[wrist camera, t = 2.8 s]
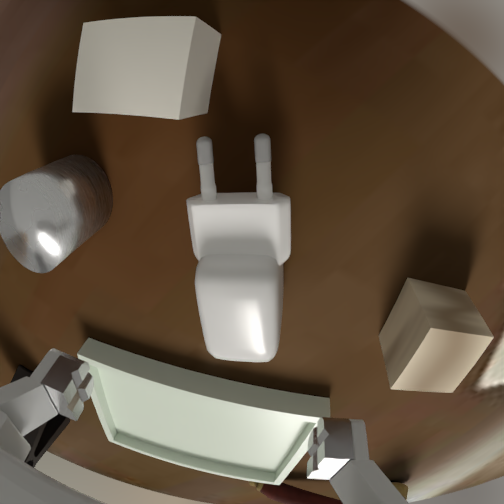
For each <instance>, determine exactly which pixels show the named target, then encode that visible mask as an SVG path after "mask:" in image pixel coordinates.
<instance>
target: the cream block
mask: <svg viewBox="0 0 504 504" xmlns="http://www.w3.org/2000/svg"><path fill="white" fill-rule="evenodd" d="M220 39H221V34H220V33H219V32H217V31H216V30H214V29H213V28H212V27H210V26H209V25H207V24H206V23H205V22H203V21H202V20H200V19H199V18H198V17H195V16H153V17H133V18H120V19H110V20H101V21H93V22H86V23H83V28H82V34H81V40H80V46H79V53H78V60H77V67H76V76H75V85H74V96H73V109H72V112H85V113H108V114H124V115H137V116H149V117H159V118H168V119H177V120H180V119H184V118H188V117H192V116H197V115H201V114H205V113H208V107H209V100H210V94H211V88H212V82H213V77H214V71H215V65H216V60H217V54H218V49H219V44H220Z"/></svg>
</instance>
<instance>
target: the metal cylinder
mask: <svg viewBox="0 0 504 504" xmlns="http://www.w3.org/2000/svg"><path fill="white" fill-rule="evenodd" d="M112 207H113V195H112V189H111V186H110V183H109V180H108V178H107V176H106V174H105V173H104V171H103V170H102V168H101V167H100V166H99V165H98V164H97V163H96V162H95V161H93V160H92V159H90V158H88V157H86V156H83V155H76V154H75V155H70V156H67V157H64V158H62V159H59V160H57V161H54V162H52V163H49V164H47V165H45V166H42V167H40V168H38V169H35V170H33V171H31V172H29V173H26V174H24V175H22V176H20V177H18V178H16V179H13V180H11V181H9V182H8V183H6V184H5V185H4V186H3V187H2V189H1V190H0V233H1V236H2V238H3V240H4V242H5V244H6V246H7V248H8V249H9V251H10V252H11V254H12V255H13V256H14V257H15V259H16V260H17V261H18V262H19V263H21V264H22V265H23V266H24V267H26V268H27V269H29V270H31V271H34V272H37V273H46V272H49V271H51V270H52V269H53V268H55V267H56V266H57V265H58V264H59V263H60V262H61V261H63V260H64V259H65V258H66V257H67V256H68V255H69V254H71V253H72V252H73V251H74V250H75V249H76V248H78V247H79V246H80V245H81V244H82V243H84V242H85V241H86V240H87V239H88V238H90V237H91V236H92V235H93V234H94V233H96V232H97V231H98V230H99V229H101V228H102V227H103V226H104V225H105V224H106V223H107V221H108V220H109V217H110V215H111V212H112Z"/></svg>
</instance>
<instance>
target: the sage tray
mask: <svg viewBox="0 0 504 504" xmlns="http://www.w3.org/2000/svg"><path fill="white" fill-rule="evenodd" d="M77 355H78V358H79V359H80V360H83V361H85V362H88V364H89V366H90V370H89V371H88V372H89V373H90V374H91V375H92V376H93V380H94V387H93V391H92V394H91V398H92V401H93V403H94V406H95V409H96V411H97V414H98V416H99V419H100V421H101V424H102V426H103V429H104V431H105V433H106V436H107V438H108V440H109V441H110V442H113V443H115V444H118V445H121V446H123V447H126V448H128V449H131V450H134V451H137V452H140V453H142V454H145V455H148V456H151V457H154V458H157V459H161V460H164V461H167V462H170V463H174V464H177V465H181V466H184V467H188V468H192V469H196V470H200V471H204V472H208V473H212V474H217V475H221V476H226V477H231V478H236V479H241V480H247V481H253V482H259V483H266V484H273V485H280V484H281V483H282V482H283V480H284V479H285V478H286V477H287V476H288V474H289V473H290V472H291V471H292V469H293V468H294V467H295V466H296V464H297V463H298V462H299V461H300V459H301V458H302V457H303V455H304V454H305V453H306V452H307V450H308V440H309V436H310V433H311V431H312V430H313V428H315V427H317V422H318V420H319V419H320V418H321V417H329V418H330V398H325V397H318V396H311V395H305V394H298V393H292V392H286V391H281V390H275V389H270V388H265V387H260V386H255V385H250V384H245V383H241V382H236V381H232V380H227V379H223V378H219V377H215V376H211V375H207V374H203V373H199V372H195V371H191V370H187V369H184V368H180V367H177V366H173V365H170V364H166V363H163V362H159V361H156V360H153V359H150V358H146V357H143V356H140V355H137V354H134V353H131V352H128V351H125V350H122V349H119V348H116V347H113V346H111V345H108V344H105V343H102V342H99V341H97V340H94V339H91V338H88V339H87V340H86V342H85V343H84V345H83V346H82V347H81V349H80V350H79V352H78V353H77Z"/></svg>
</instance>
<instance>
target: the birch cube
mask: <svg viewBox="0 0 504 504" xmlns="http://www.w3.org/2000/svg"><path fill="white" fill-rule="evenodd" d="M493 338H494V337H493V335H492V333H491V332H490V330H489V328H488V326H487V325H486V323H485V321H484V320H483V318H482V316H481V315H480V313H479V312H478V310H477V308H476V307H475V305H474V304H473V302H472V301H471V299H470V297H469V296H468V294H467V293H466V291H464V290H460V289H455V288H451V287H447V286H442V285H438V284H434V283H429V282H425V281H421V280H416V279H412V278H408V277H407V279H406V282H405V284H404V286H403V288H402V290H401V292H400V294H399V297H398V299H397V301H396V303H395V305H394V307H393V309H392V311H391V313H390V315H389V317H388V319H387V321H386V323H385V324H384V326H383V328H382V330H381V332H380V334H379V340H380V344H381V348H382V352H383V357H384V361H385V366H386V370H387V375H388V379H389V384H390V389H396V390H409V391H425V392H448V393H452V392H453V391H454V390H455V389H456V387H457V386H458V385H459V384H460V382H461V381H462V380H463V379H464V377H465V376H466V375H467V374H468V372H469V371H470V370H471V368H472V367H473V366H474V364H475V363H476V362H477V360H478V359H479V358H480V356H481V355H482V353H483V352H484V351H485V349H486V348H487V346H488V345H489V343H490V342H491V341H492V339H493Z"/></svg>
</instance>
